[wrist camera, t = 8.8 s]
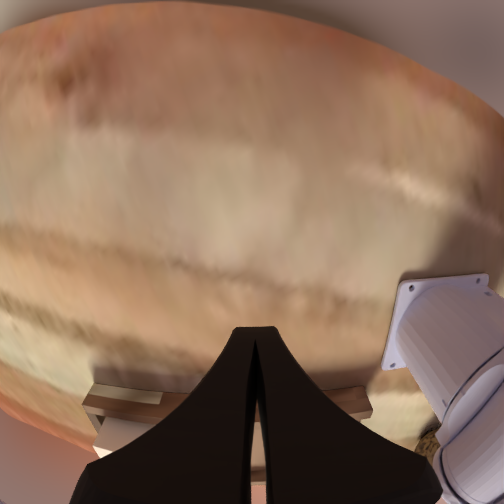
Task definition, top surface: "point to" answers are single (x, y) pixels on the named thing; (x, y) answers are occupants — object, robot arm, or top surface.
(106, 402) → the box
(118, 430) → the ivory block
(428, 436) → the decorative egg
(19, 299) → the top surface
